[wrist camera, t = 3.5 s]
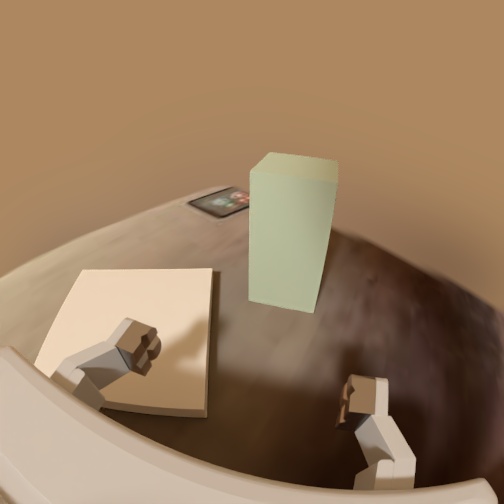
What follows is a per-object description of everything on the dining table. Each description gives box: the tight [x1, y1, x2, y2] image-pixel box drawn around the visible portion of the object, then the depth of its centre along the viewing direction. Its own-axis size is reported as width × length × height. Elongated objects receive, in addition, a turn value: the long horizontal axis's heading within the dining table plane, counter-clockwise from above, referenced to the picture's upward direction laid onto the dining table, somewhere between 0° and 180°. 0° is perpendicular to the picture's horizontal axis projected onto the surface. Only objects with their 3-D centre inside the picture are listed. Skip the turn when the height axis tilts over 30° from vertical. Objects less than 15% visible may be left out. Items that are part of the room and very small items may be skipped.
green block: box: [249, 152, 338, 313], centre depth 20 cm, size 5×5×10 cm
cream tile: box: [34, 268, 213, 418], centre depth 17 cm, size 12×12×1 cm
